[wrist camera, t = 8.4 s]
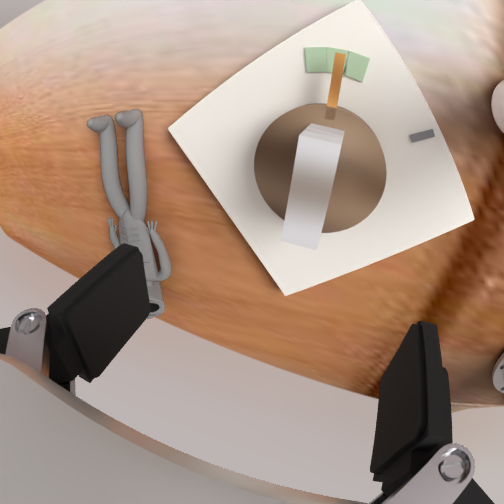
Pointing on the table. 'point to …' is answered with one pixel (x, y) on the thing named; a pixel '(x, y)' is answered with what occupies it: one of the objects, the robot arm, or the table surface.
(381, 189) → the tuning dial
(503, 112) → the white cup
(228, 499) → the robot arm
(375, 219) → the white square board
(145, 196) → the alien figure
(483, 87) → the table surface
